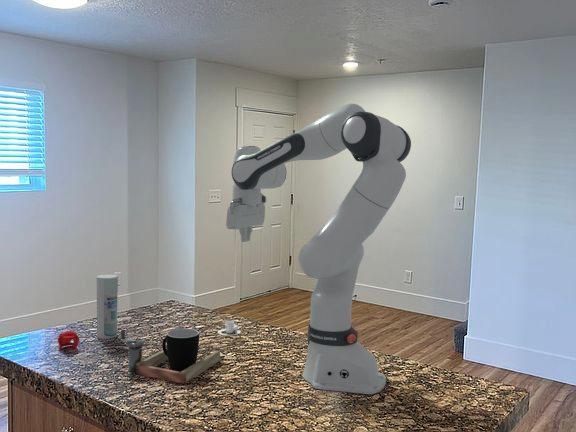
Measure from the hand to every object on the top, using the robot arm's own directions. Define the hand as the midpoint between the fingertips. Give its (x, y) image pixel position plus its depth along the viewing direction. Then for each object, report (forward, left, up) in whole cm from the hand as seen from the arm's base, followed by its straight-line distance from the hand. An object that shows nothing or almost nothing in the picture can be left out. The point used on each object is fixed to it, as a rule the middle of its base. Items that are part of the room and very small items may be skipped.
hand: (245, 241), depth 173 cm
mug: (+6, +27, -33) cm, 44 cm away
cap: (+45, +29, -33) cm, 63 cm away
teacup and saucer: (+7, -10, -34) cm, 36 cm away
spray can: (+43, +14, -33) cm, 56 cm away
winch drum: (+17, +34, -33) cm, 51 cm away
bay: (+6, +27, -33) cm, 43 cm away
